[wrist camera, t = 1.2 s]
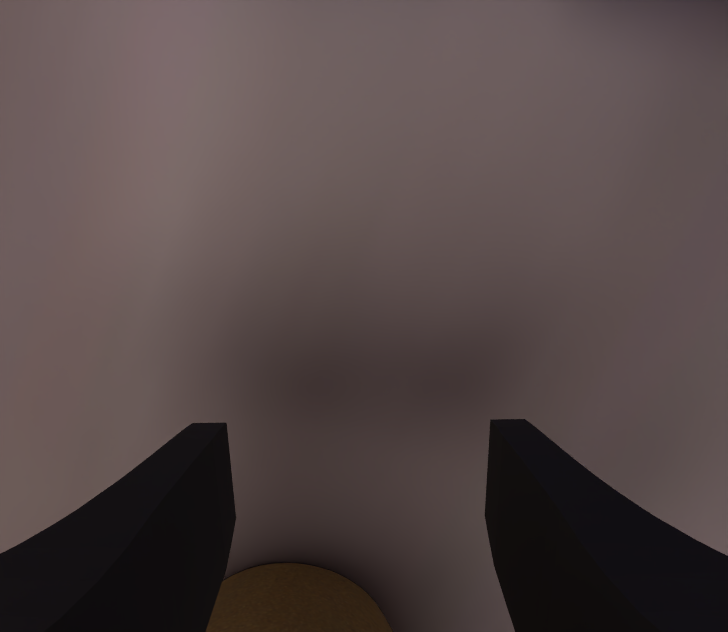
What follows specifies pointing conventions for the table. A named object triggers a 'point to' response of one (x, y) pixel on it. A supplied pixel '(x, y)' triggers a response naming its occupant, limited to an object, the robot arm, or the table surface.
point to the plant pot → (294, 602)
